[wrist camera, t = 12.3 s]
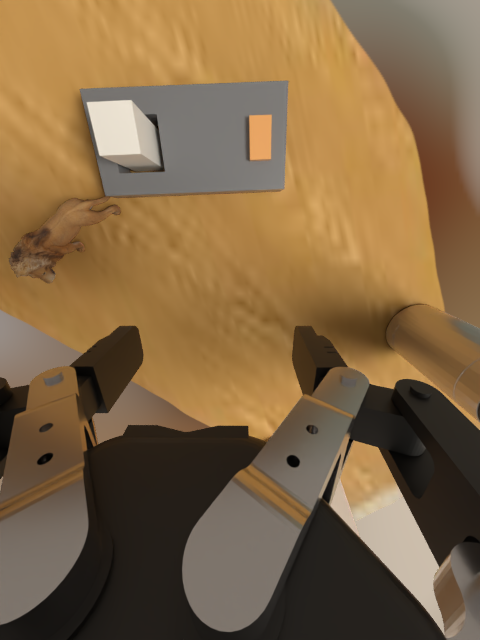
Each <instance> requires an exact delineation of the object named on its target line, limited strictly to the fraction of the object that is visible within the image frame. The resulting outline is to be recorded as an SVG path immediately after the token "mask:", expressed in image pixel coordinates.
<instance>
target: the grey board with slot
mask: <svg viewBox="0 0 480 640" xmlns="http://www.w3.org/2000/svg"><path fill="white" fill-rule="evenodd" d="M80 92H81V97H82V101H83V105H84V109H85V113H86V117H87V121H88V126H89V130H90V134H91V138H92V142H93V146H94V150H95V155H96V159H97V163H98V167H99V171H100V175H101V179H102V183H103V188H104V192H105V196H108V197H115V198H130V197H155V196H180V195H205V194H230V193H255V192H279V191H281V190H283V189H284V182H285V155H286V127H287V99H288V81H268V82H243V83H218V84H192V85H167V86H142V87H117V88H91V89H80ZM120 100H132V101H133V103H134V104H135V105H136V106H137V107H138V108H139V109H140V110H141V111H142V113H143V114H144V115H145V116H146V117H147V118H148V119H149V120H150V121H151V122H152V124H153V125H154V126H155V125H158V127H159V134H160V141H161V147H162V154H163V161H164V168H165V172H144V173H131V172H130V169H129V168H126V167H124V166H122V165H119V164H117V163H115V162H113V161H110V160H108V159H106V158H103V157H101V156H99V152H98V148H97V143H96V139H95V135H94V131H93V127H92V123H91V119H90V115H89V110H88V106H87V102H100V101H120Z"/></svg>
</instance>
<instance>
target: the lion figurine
mask: <svg viewBox="0 0 480 640" xmlns="http://www.w3.org/2000/svg"><path fill="white" fill-rule="evenodd" d="M109 198H110V197H108V196H105V197H103V198H100V199H96V200H85V201H84V200H80V199H77V198H72V199H69V200H67V201H65V202H64V203H63V204H62V205H61V206H60V207H59V208H58V210H57V211H56V213H55V214H54V215H53V216H51V217H50V218H49V219H48V220H47V221H46V222H45V223H44V224H43V225H42V226H41V227H40V228H39V230H36V231H34V232H31V233H28V234H26V235H24V237H22V238H21V241H20V242H19V243H18V244H17V245H16V246H15V248H14V249H13V251H14V252H11V257H10V258H9V262H10V264H11V269H12V270H13V271H14V273H15V274H16V276H17V277H19V276H28V275H29V276H31V277H32V278H40V279H41V280H43V281H45V282H46V283H52V282H53V280H54V279H55V275H56V273H55V272H54V271H53V270H52V269H51V268H52V267H54V266H55V264H56V262H57V261H59V260H60V259H61V258H62V257H63V256H64V254H66V253H70V252H73V251H74V250H76V249H77V251H80V252H82V251H85V247H84V245H83V244H82V243H81V242H73V243H70V242H71V240H72V239H73V238H74V237H75V236H76V235H77V234H78V232H79V230H80V229H81V226H87V225H93V224H96V223H99V222H101V221H102V220H104V219H105V218H107V217H108V216H109V215H110V214H115V215H119V214H120V212H121V210H120V208H119V207H118V206H117V205H112V206H109V207H108V208H106V210H104V211H99V212H96V211H93V210H90V209H91V208H92V206H95V205H98V204H101V203H104V202H106V201H107V200H108V199H109Z"/></svg>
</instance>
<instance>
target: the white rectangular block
mask: <svg viewBox="0 0 480 640" xmlns="http://www.w3.org/2000/svg"><path fill="white" fill-rule="evenodd" d="M87 106H88V110H89V115H90V119H91V123H92V127H93V131H94V135H95V139H96V143H97V148H98V152H99V156H101V157H103V158H106V159H108V160H110V161H113V162H115V163H117V164H119V165H122V166H124V167H126V168H129V169H131V170H133V171H135V172H140V171H160V170H165V168H164V161H163V154H162V147H161V141H160V134H159V130H158V129H157V128H156V127H155V126H154V125H153V124H152V122H151V121H150V120H149V119H148V118H147V117H146V116H145V115H144V114H143V113H142V111H141V110H140V109H139V108H138V107H137V106H136V105H135V104H134V103H133V101H132V100H120V101H100V102H87Z"/></svg>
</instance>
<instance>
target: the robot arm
mask: <svg viewBox="0 0 480 640" xmlns="http://www.w3.org/2000/svg"><path fill="white" fill-rule="evenodd" d="M386 340H387V342H388V344H389V345H390V347H392V348H393V349H394V350H395V351H396V352H397V353H399V354H400V355H401V356H402V357H403V358H404V359H406V360H407V361H408V362H409V363H410V364H411V365H413V366H414V367H415V368H416V369H417V370H418V371H420V372H421V373H422V374H423V375H424V376H426V377H427V378H428V379H429V380H430V381H431V382H433V383H434V384H435V385H436V386H437V387H439V388H440V389H441V390H442V391H443V392H444V393H446V394H447V395H448V396H449V397H450V398H451V399H453V400H454V401H455V402H456V403H457V404H459V405H460V406H461V407H462V408H463V409H465V410H466V411H467V412H468V413H469V414H470V415H472V416H473V417H474V418H475V419H476V420H478V421H479V422H480V328H477V327H475V326H473V325H471V324H468V323H467V322H464V321H462V320H460V319H458V318H455V317H454V316H452V315H449V314H447V313H445V312H442V311H440V310H437V309H435V308H433V307H431V306H429V305H424V304H421V305H413V306H410V307H408V308H405V309H404V310H402V311H400V312H399V313H398V314H397V315H395V316H394V318H393V319H392V320H391V321H390V323H389V325H388V327H387V330H386ZM292 361H293V366H294V369H295V372H296V375H297V378H298V381H299V384H300V387H301V390H302V393H303V396H302V397H301V399H300V400H299V401H298V402H297V404H296V405H295V406H294V408H293V409H292V410H291V412H290V413H289V414H288V416H287V417H286V418H285V419H284V421H283V422H282V423H281V425H280V426H279V427H278V429H277V430H276V431H275V433H274V434H273V435H272V437H271V438H270V439H269V440H268V442H267V443H266V442H264V441H262V440H260V439H257V438H255V437H251V436H248V426H215V427H210V428H205V429H201V430H196V431H192V432H182V431H178V430H174V429H170V428H166V427H162V426H158V425H128V427H127V429H126V430H125V432H124V434H123V436H119V437H115V438H112V439H109V440H107V441H104V442H102V443H100V444H98V438H97V434H96V429H95V424H94V420H93V418H92V416H93V415H94V414H95V413H108V412H109V411H110V409H111V408H112V406H113V405H114V404H115V402H116V401H117V399H118V398H119V396H120V395H121V393H122V392H123V391H124V389H125V388H126V386H127V385H128V383H129V382H130V380H131V379H132V378H133V376H134V375H135V373H136V372H137V370H138V369H139V367H140V366H141V364H142V362H143V349H142V344H141V340H140V335H139V330H138V328H137V327H136V326H119V327H118V328H117V329H116V330H115V331H113V332H112V333H111V334H110V335H109V336H107V337H105V338H103V339H101V340H99V341H98V342H97V343H96V344H94V345H93V346H92V347H91V348H90V349H89V350H87V352H85V353H84V354H83V355H82V356H80V357H79V358H78V359H77V360H76V361H75V362H73V363H72V364H71V365H70V366H64V367H57V368H53V369H50V370H47V371H45V372H43V373H41V374H39V375H38V376H36V377H35V378H34V379H33V380H32V381H31V383H30V385H26V386H21V387H15V388H10V386H9V384H8V382H7V381H6V379H4V378H0V479H1V478H2V476H3V480H2V485H1V491H0V640H480V430H479V429H478V428H477V427H476V426H475V425H474V424H473V423H472V422H470V421H469V420H468V419H467V418H466V417H465V416H464V415H463V414H462V413H461V412H460V411H459V410H458V409H457V408H456V407H455V406H454V405H453V404H452V403H451V402H450V401H449V400H448V399H447V398H446V397H445V396H444V395H443V394H442V393H441V392H440V391H438V390H437V389H436V388H434V387H432V386H430V385H428V384H426V383H423V382H420V381H417V380H412V379H402V380H399V381H397V382H396V385H395V388H394V389H390V388H385V387H380V386H375V385H372V384H369V380H368V378H367V377H366V376H365V375H364V374H362V373H361V372H359V371H357V370H355V369H352V368H348V366H347V365H346V363H345V362H344V361H343V359H342V358H341V356H340V355H339V353H337V350H336V349H335V348H334V346H333V344H332V343H331V342H330V340H328V339H327V338H325V337H324V336H317V335H316V333H315V331H314V330H313V328H312V326H296V327H295V331H294V341H293V352H292ZM354 440H355V441H358V442H362V443H365V444H369V445H372V446H376V447H378V448H379V450H380V452H381V454H382V456H383V457H384V459H385V461H386V463H387V465H388V467H389V469H390V471H391V473H392V475H393V477H394V479H395V481H396V483H397V485H398V487H399V489H400V491H401V493H402V495H403V497H404V499H405V501H406V503H407V505H408V506H409V508H410V510H411V512H412V514H413V516H414V518H415V520H416V522H417V524H418V526H419V528H420V530H421V532H422V534H423V536H424V538H425V540H426V542H427V544H428V546H429V548H430V549H431V552H432V554H433V555H434V557H435V559H436V561H437V563H438V565H439V567H440V568H439V569H438V570H437V572H436V573H435V576H434V582H433V585H434V593H435V597H436V600H437V603H438V606H439V608H440V611H441V614H442V618H443V623H444V631H445V635H444V634H443V633H442V631H441V630H440V628H439V627H438V625H437V624H436V623H435V621H434V620H433V618H432V617H431V616H430V614H429V613H428V612H427V611H426V609H425V608H424V607H423V606H422V605H421V603H420V602H419V601H418V600H417V599H416V598H415V597H414V595H413V594H411V592H410V591H409V590H408V589H407V588H406V587H405V586H404V585H403V584H402V583H401V581H400V580H398V578H397V577H396V576H395V575H394V574H393V573H392V572H391V571H390V570H389V569H388V568H387V566H386V565H385V564H384V563H383V562H382V561H381V560H380V559H379V558H378V557H377V556H376V555H375V554H374V553H373V551H372V550H371V549H370V548H369V547H368V546H367V545H366V544H365V543H364V542H363V541H362V540H361V539H360V537H359V536H358V535H357V534H356V533H355V532H354V531H353V530H352V529H351V528H350V527H349V526H348V525H347V523H346V522H345V521H344V520H343V519H342V518H341V517H340V516H339V515H338V514H337V513H336V512H335V511H334V510H333V508H332V507H331V503H332V500H333V497H334V494H335V491H336V488H337V485H338V482H339V479H340V476H341V474H342V471H343V468H344V466H345V463H346V461H347V458H348V455H349V453H350V450H351V448H352V445H353V442H354Z"/></svg>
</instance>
